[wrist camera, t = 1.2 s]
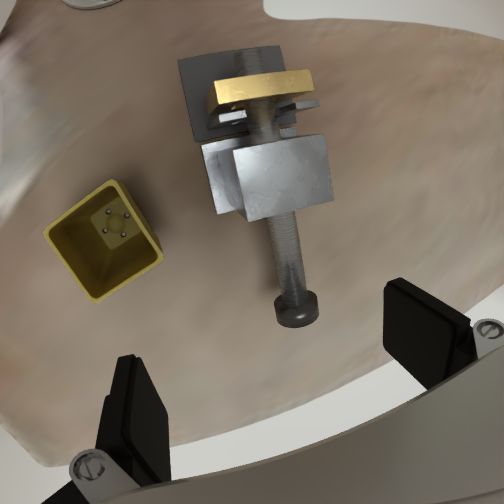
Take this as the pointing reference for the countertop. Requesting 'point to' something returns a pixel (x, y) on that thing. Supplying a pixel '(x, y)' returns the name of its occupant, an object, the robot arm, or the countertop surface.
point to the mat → (214, 69)
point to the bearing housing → (268, 174)
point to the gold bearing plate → (257, 89)
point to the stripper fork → (241, 116)
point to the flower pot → (104, 241)
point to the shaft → (281, 225)
